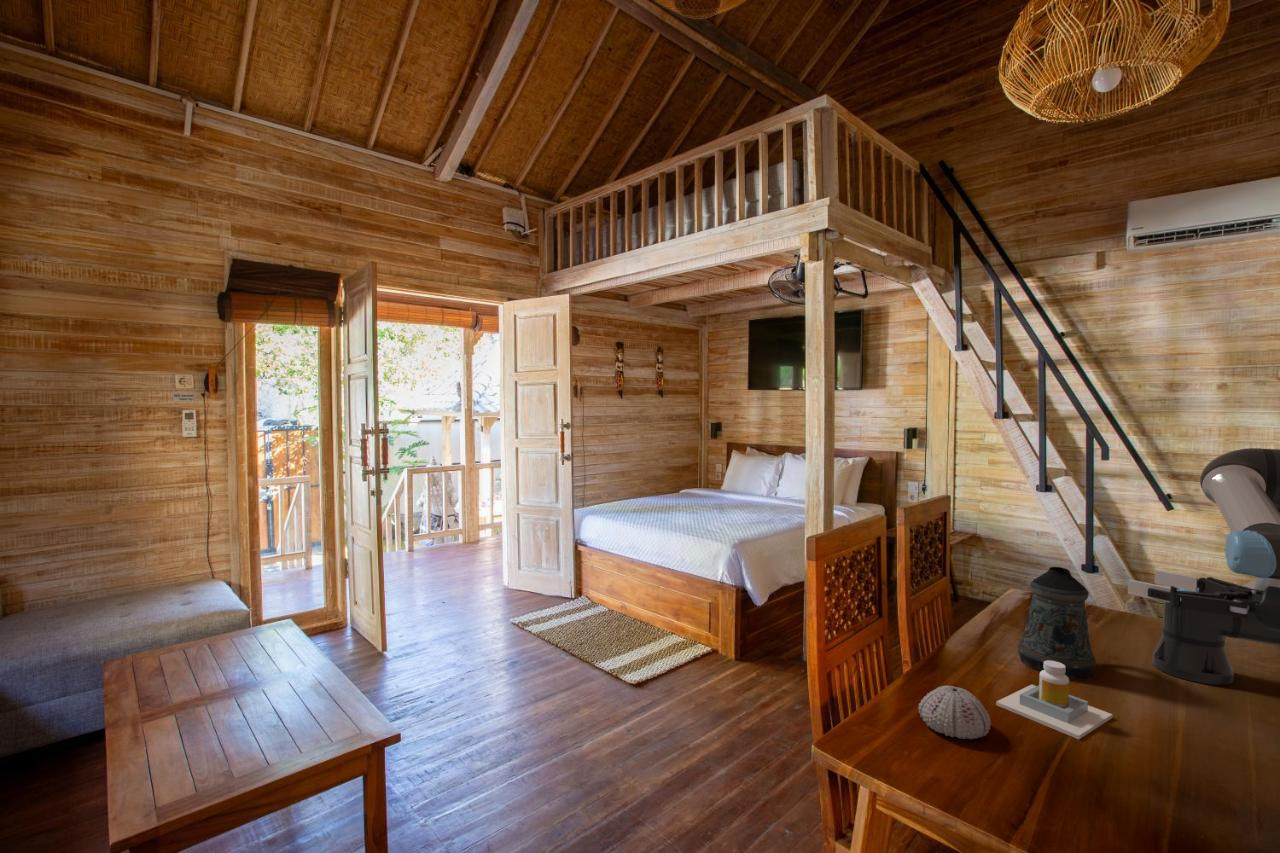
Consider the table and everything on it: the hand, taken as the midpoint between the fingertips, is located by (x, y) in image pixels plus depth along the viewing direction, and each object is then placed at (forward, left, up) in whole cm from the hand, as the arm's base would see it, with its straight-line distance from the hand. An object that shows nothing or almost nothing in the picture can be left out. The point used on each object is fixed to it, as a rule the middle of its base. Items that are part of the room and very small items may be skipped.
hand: (1142, 581), depth 120 cm
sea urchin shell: (+28, -22, -32) cm, 48 cm away
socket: (+3, -14, -32) cm, 35 cm away
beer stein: (-25, -26, -32) cm, 48 cm away
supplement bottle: (+3, -14, -31) cm, 34 cm away
